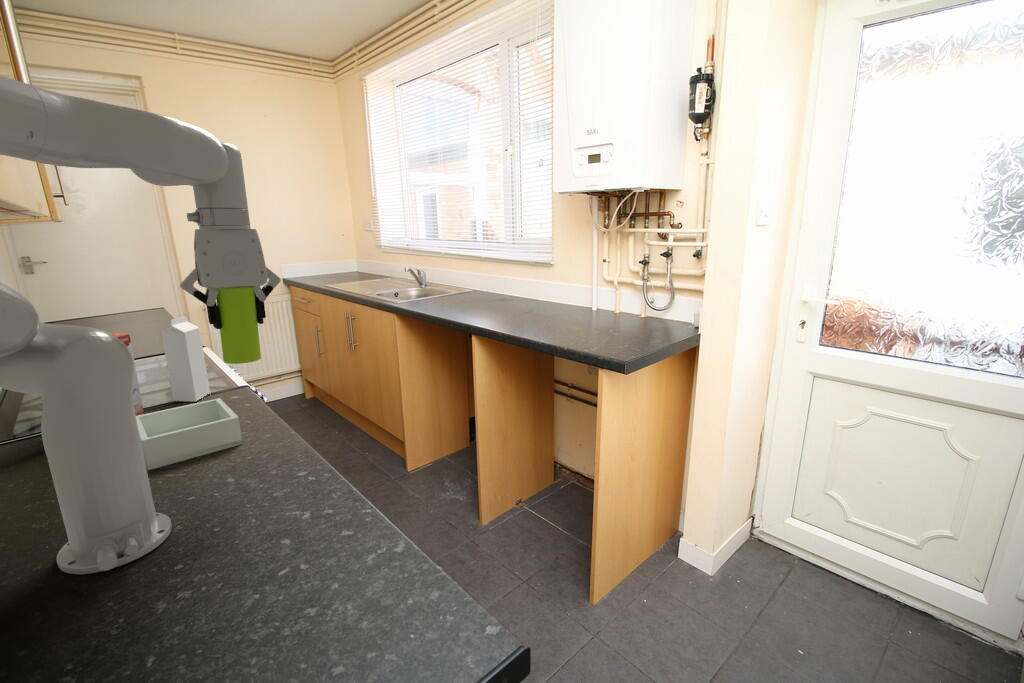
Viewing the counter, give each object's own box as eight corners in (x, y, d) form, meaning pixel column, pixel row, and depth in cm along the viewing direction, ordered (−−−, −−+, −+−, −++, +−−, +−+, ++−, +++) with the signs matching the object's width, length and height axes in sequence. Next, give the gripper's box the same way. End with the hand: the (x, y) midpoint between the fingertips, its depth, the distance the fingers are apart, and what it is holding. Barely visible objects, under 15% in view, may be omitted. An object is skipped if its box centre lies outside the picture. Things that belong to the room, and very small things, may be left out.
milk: (173, 403, 124) (157, 320, 118) (189, 395, 129) (174, 315, 124) (197, 403, 124) (181, 319, 118) (211, 395, 129) (197, 315, 124)
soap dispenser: (273, 357, 87) (262, 246, 83) (234, 365, 82) (221, 247, 77) (255, 353, 90) (244, 246, 86) (217, 360, 85) (203, 246, 80)
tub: (242, 444, 99) (238, 417, 98) (147, 470, 89) (141, 440, 87) (223, 422, 111) (219, 398, 109) (137, 443, 100) (132, 416, 99)
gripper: (166, 219, 72) (185, 335, 76) (285, 220, 83) (296, 321, 87) (158, 220, 77) (177, 329, 81) (271, 221, 89) (282, 316, 93)
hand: (238, 324), depth 84 cm, fingers closed on soap dispenser, 6 cm apart
